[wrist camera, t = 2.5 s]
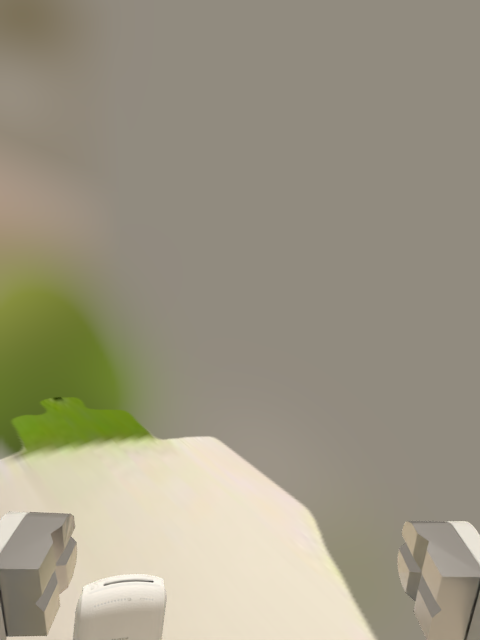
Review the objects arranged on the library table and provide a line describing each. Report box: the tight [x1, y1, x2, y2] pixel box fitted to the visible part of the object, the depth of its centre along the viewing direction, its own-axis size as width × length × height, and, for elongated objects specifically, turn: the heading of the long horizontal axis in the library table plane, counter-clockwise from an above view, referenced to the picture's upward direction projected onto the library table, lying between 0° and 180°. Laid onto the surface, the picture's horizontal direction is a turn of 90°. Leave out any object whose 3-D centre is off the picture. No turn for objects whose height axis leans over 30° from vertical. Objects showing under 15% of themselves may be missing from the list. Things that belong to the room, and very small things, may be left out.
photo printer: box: [73, 574, 166, 640], centre depth 47 cm, size 10×4×12 cm, turn 107°
